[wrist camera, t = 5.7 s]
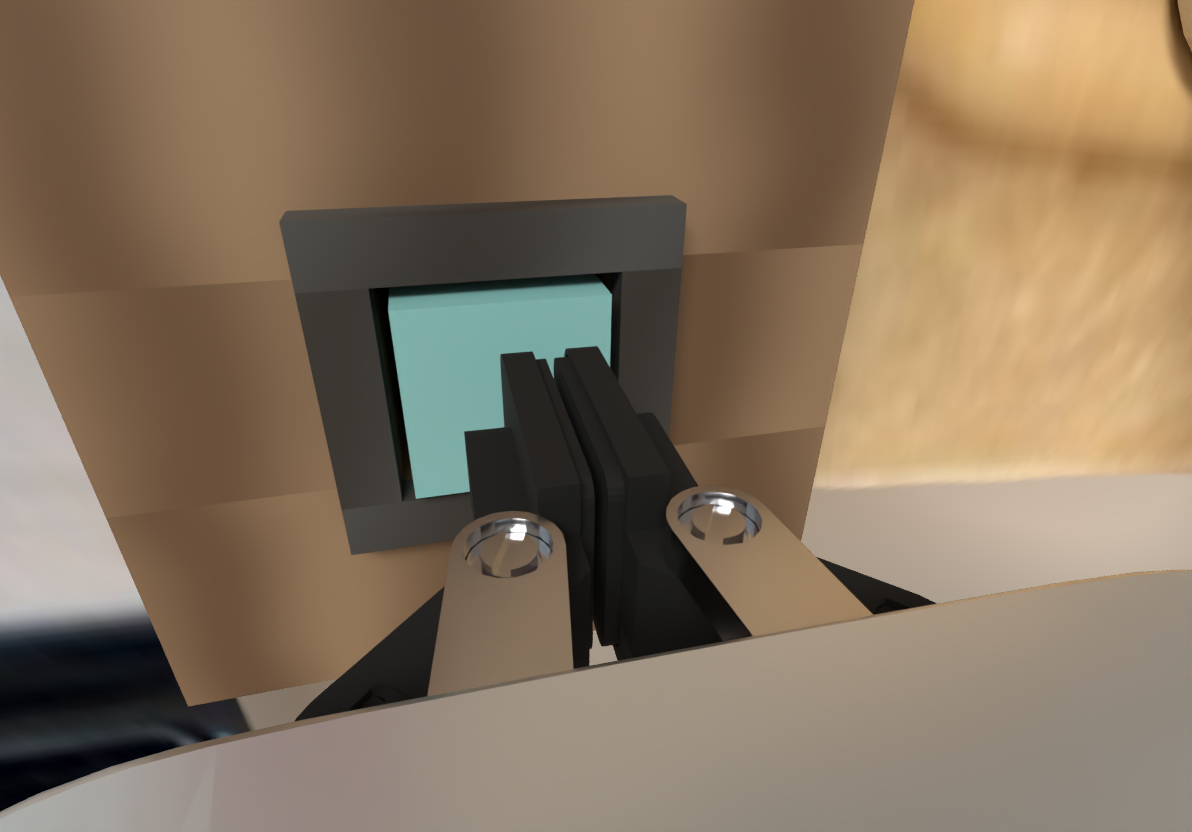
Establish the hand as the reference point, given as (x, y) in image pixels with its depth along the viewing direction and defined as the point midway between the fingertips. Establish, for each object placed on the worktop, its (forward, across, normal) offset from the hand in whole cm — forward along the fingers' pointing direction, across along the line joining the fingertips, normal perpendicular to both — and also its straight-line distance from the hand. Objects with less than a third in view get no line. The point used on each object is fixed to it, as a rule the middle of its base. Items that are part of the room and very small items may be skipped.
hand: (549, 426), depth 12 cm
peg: (+11, +1, 0) cm, 11 cm away
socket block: (+12, +1, 0) cm, 12 cm away
